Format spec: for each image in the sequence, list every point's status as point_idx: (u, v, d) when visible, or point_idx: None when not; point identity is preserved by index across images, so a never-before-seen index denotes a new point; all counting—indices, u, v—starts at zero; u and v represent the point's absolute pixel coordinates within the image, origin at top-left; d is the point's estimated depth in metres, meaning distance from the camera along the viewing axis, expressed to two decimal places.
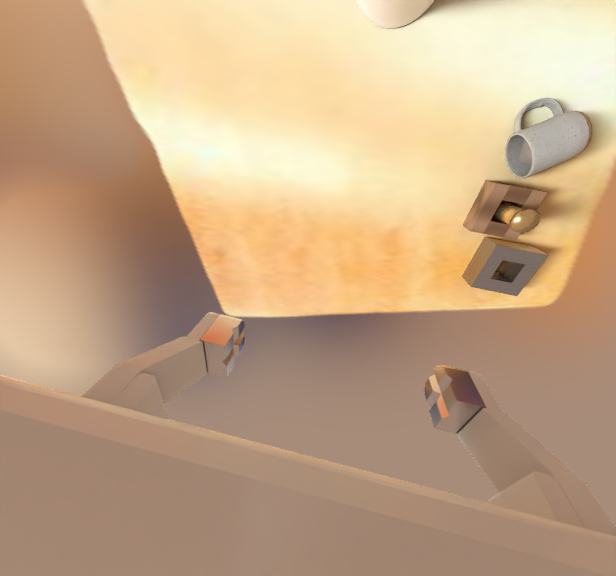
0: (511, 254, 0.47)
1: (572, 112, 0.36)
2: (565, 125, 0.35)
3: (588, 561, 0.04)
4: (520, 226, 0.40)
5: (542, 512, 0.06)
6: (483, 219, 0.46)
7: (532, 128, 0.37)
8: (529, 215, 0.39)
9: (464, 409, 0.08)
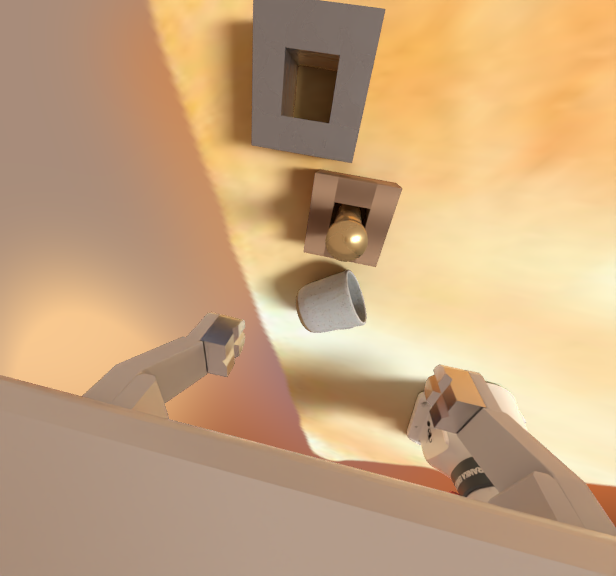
0: (316, 139, 0.22)
1: None
2: (329, 330, 0.32)
3: (588, 561, 0.04)
4: (352, 234, 0.21)
5: (542, 512, 0.06)
6: (382, 212, 0.25)
7: None
8: (345, 253, 0.22)
9: (464, 409, 0.08)
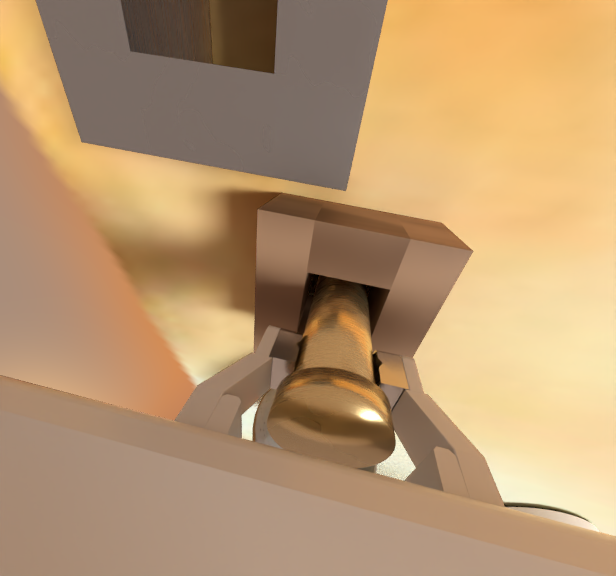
0: (243, 125, 0.08)
1: None
2: None
3: (588, 561, 0.04)
4: (348, 423, 0.07)
5: (435, 484, 0.06)
6: (417, 297, 0.11)
7: None
8: (326, 454, 0.08)
9: (389, 391, 0.08)
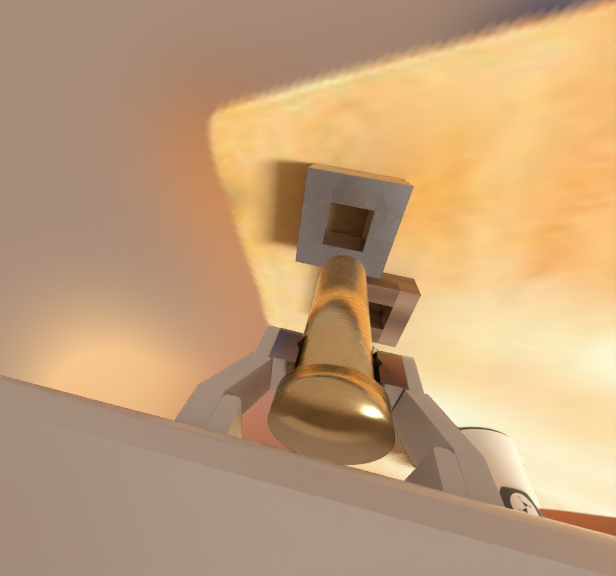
0: None
1: None
2: None
3: (588, 561, 0.04)
4: (348, 418, 0.07)
5: (435, 484, 0.06)
6: (403, 309, 0.30)
7: None
8: (327, 450, 0.08)
9: (389, 391, 0.08)
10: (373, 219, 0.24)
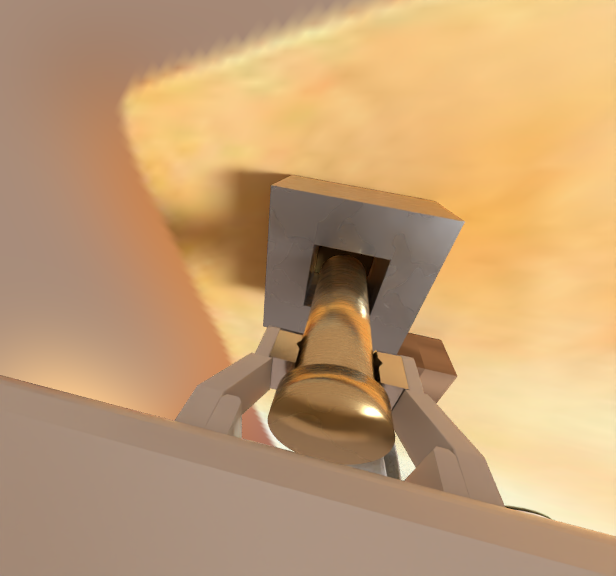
0: None
1: None
2: None
3: (588, 561, 0.04)
4: (348, 419, 0.07)
5: (435, 484, 0.06)
6: (427, 392, 0.20)
7: None
8: (327, 450, 0.08)
9: (389, 391, 0.08)
10: (387, 273, 0.14)
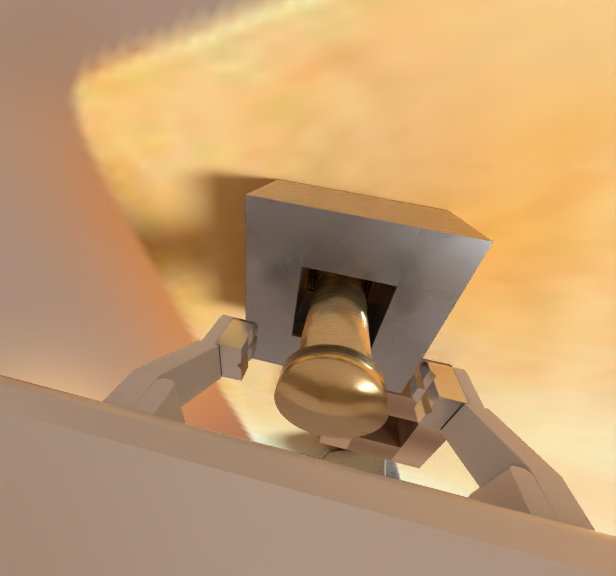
0: None
1: None
2: None
3: (588, 561, 0.04)
4: (347, 392, 0.07)
5: (517, 505, 0.06)
6: None
7: None
8: (328, 424, 0.08)
9: (447, 405, 0.08)
10: (393, 301, 0.11)
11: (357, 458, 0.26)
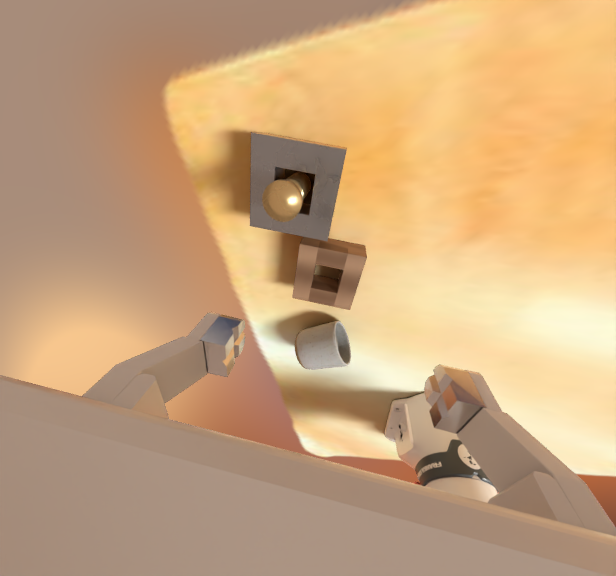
0: (300, 225, 0.29)
1: None
2: (321, 368, 0.40)
3: (588, 561, 0.04)
4: (286, 193, 0.22)
5: (542, 512, 0.06)
6: (352, 272, 0.32)
7: None
8: (282, 213, 0.23)
9: (464, 409, 0.08)
10: (315, 182, 0.26)
11: (320, 325, 0.41)
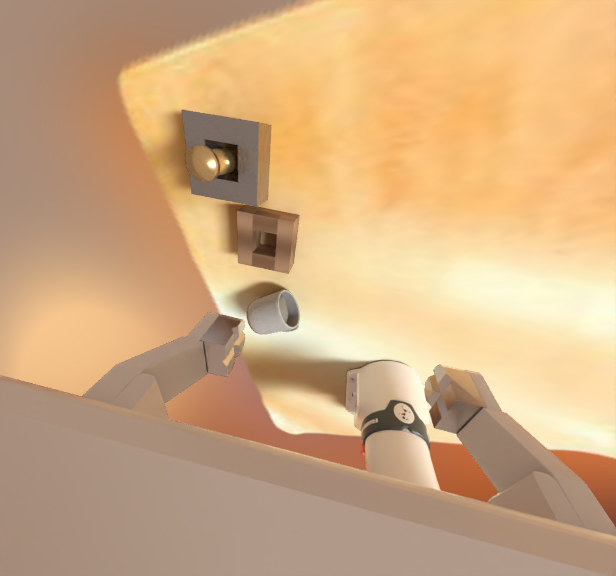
0: (232, 191, 0.33)
1: None
2: (270, 332, 0.45)
3: (588, 561, 0.04)
4: (203, 156, 0.27)
5: (542, 512, 0.06)
6: (284, 236, 0.37)
7: None
8: (202, 174, 0.28)
9: (464, 409, 0.08)
10: (238, 152, 0.31)
11: (270, 294, 0.45)
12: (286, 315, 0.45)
